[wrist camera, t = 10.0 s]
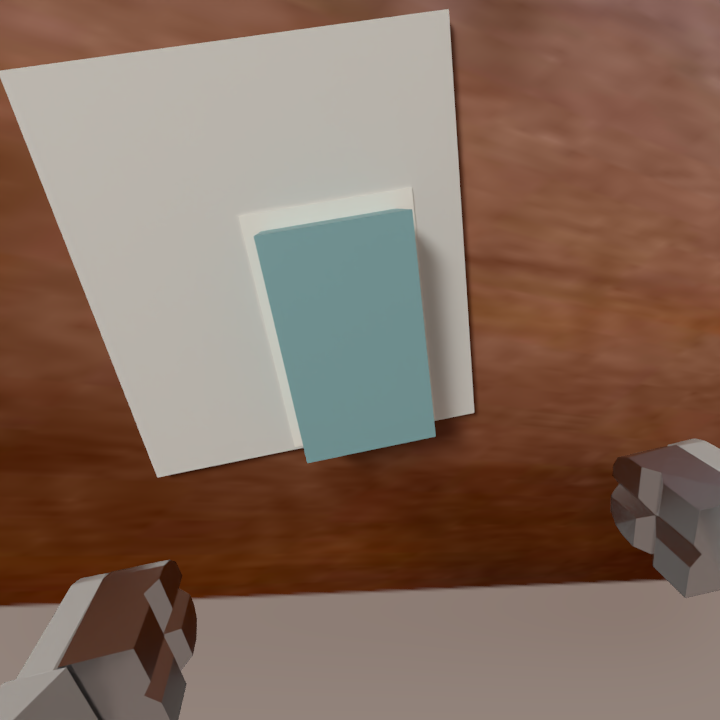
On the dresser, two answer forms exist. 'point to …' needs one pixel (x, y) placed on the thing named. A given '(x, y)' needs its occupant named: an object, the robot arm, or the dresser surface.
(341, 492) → the dresser surface
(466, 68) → the dresser surface
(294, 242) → the teal rectangular block
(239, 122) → the mat
